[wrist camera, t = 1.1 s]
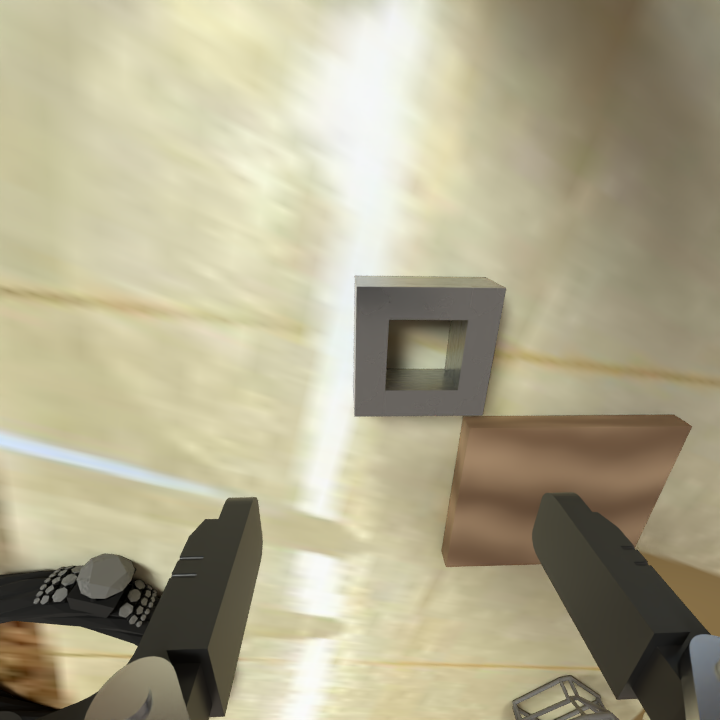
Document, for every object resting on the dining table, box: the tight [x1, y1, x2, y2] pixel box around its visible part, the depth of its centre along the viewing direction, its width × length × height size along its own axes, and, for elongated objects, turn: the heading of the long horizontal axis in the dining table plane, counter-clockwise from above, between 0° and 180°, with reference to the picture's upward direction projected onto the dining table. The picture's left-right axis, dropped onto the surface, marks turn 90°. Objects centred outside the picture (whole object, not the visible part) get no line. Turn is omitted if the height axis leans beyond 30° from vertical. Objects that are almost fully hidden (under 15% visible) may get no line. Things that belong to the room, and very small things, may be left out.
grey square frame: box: [353, 276, 506, 416], centre depth 22 cm, size 8×8×3 cm
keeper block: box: [442, 415, 692, 567], centre depth 26 cm, size 14×16×6 cm
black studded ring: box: [0, 554, 160, 720], centre depth 34 cm, size 28×4×30 cm
